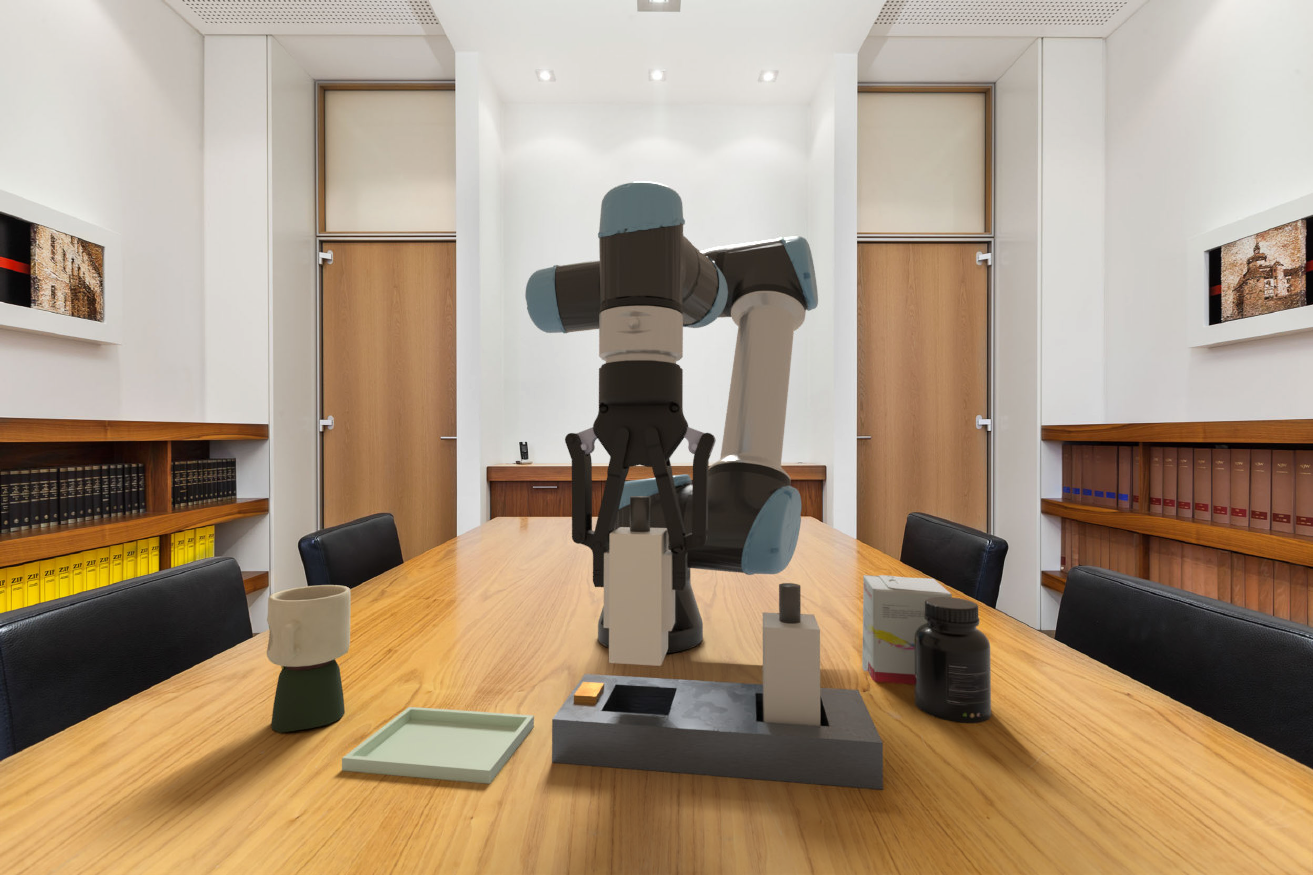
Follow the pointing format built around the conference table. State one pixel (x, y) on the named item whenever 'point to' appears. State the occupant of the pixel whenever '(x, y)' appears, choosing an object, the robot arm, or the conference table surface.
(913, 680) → the ink box
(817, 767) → the power strip
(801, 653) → the twin plug
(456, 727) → the tray
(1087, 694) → the conference table surface
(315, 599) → the character mug
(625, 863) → the conference table surface
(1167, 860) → the conference table surface
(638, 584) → the plug
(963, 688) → the supplement bottle
